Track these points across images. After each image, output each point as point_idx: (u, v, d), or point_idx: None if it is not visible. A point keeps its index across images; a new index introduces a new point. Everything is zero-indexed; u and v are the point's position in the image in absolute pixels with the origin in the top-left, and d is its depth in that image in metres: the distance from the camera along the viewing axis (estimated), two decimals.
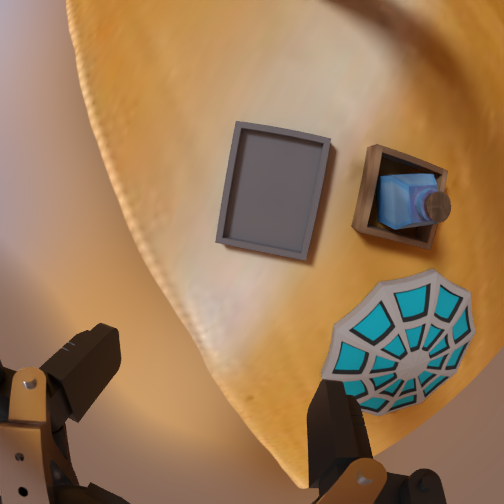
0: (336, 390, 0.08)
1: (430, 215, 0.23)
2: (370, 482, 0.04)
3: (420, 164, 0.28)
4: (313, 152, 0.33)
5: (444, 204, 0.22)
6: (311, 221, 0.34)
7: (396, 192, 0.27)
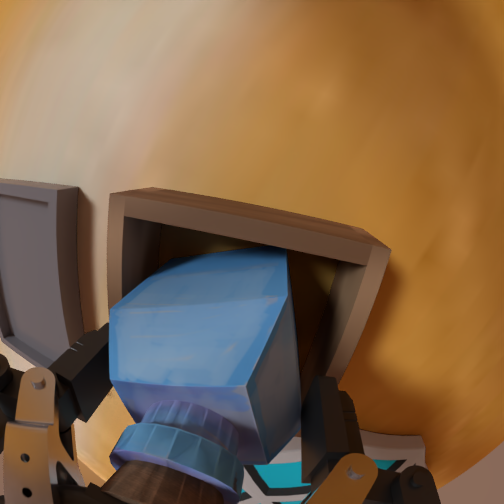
0: (328, 386, 0.08)
1: None
2: (360, 477, 0.04)
3: (267, 240, 0.10)
4: None
5: None
6: (65, 345, 0.15)
7: None
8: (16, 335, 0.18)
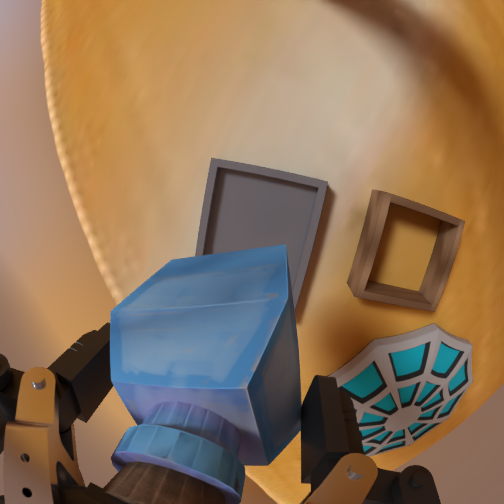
0: (328, 386, 0.08)
1: None
2: (360, 477, 0.04)
3: (434, 215, 0.24)
4: (306, 197, 0.28)
5: None
6: (299, 281, 0.29)
7: None
8: None
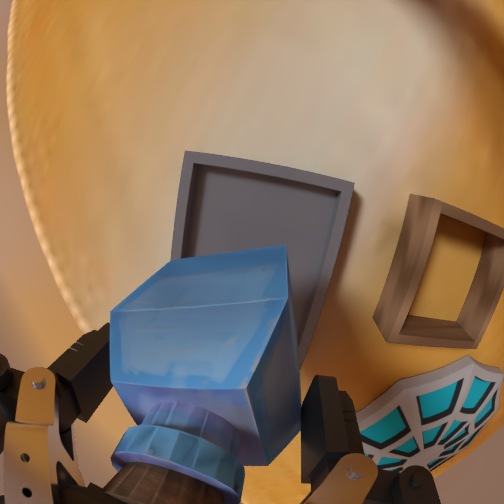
0: (328, 386, 0.08)
1: None
2: (360, 477, 0.04)
3: (489, 230, 0.15)
4: (322, 205, 0.19)
5: None
6: (311, 321, 0.21)
7: None
8: None
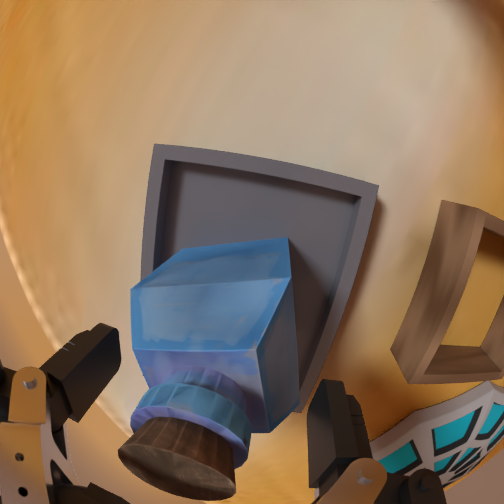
0: (336, 390, 0.08)
1: (145, 479, 0.05)
2: (370, 482, 0.04)
3: None
4: (335, 215, 0.14)
5: (197, 478, 0.05)
6: (318, 360, 0.16)
7: None
8: None
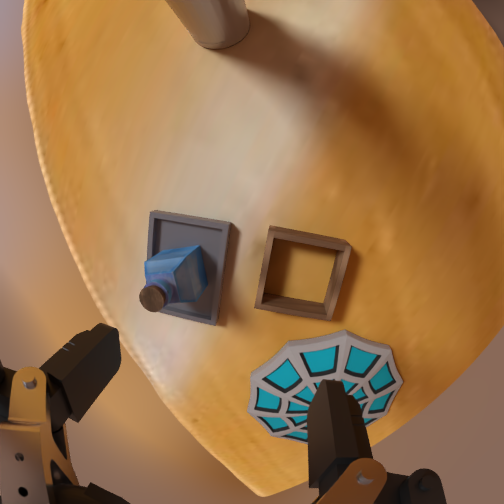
0: (336, 390, 0.08)
1: (144, 306, 0.30)
2: (370, 482, 0.04)
3: (317, 244, 0.35)
4: (216, 236, 0.39)
5: (155, 297, 0.29)
6: (216, 296, 0.40)
7: None
8: None
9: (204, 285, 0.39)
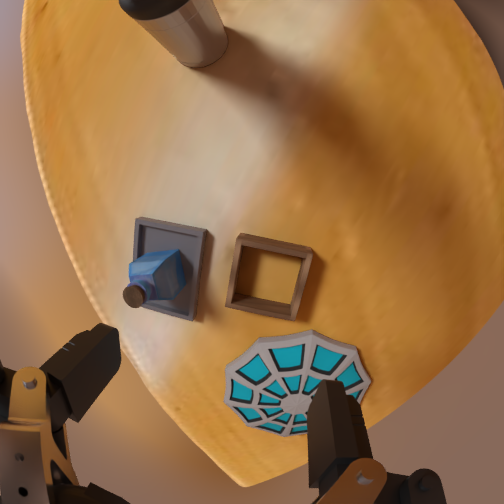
0: (336, 390, 0.08)
1: (127, 302, 0.34)
2: (370, 482, 0.04)
3: (280, 252, 0.39)
4: (193, 241, 0.43)
5: (136, 295, 0.33)
6: (192, 294, 0.45)
7: None
8: None
9: (182, 285, 0.44)
